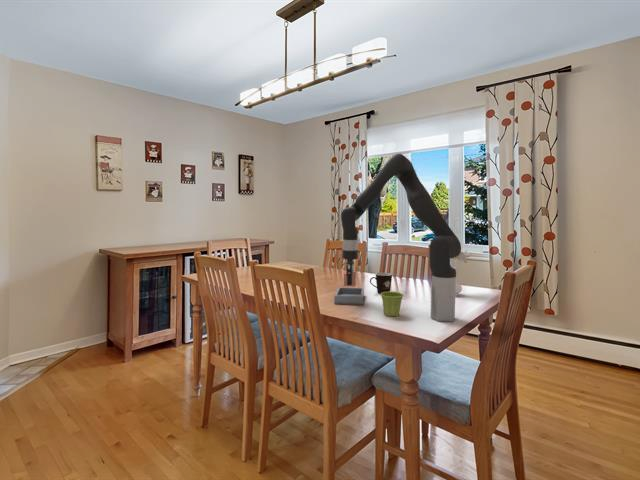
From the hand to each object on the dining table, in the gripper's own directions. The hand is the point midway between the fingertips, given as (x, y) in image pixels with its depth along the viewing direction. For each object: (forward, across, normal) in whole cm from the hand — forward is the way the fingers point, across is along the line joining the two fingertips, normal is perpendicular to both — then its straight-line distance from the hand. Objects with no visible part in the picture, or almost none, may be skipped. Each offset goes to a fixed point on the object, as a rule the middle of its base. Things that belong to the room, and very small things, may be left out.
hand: (349, 283), depth 172 cm
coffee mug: (+8, +16, -15) cm, 23 cm away
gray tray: (+8, 0, 0) cm, 8 cm away
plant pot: (+8, -22, -19) cm, 30 cm away
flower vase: (+8, +18, -51) cm, 55 cm away
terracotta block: (+1, 0, 0) cm, 1 cm away
